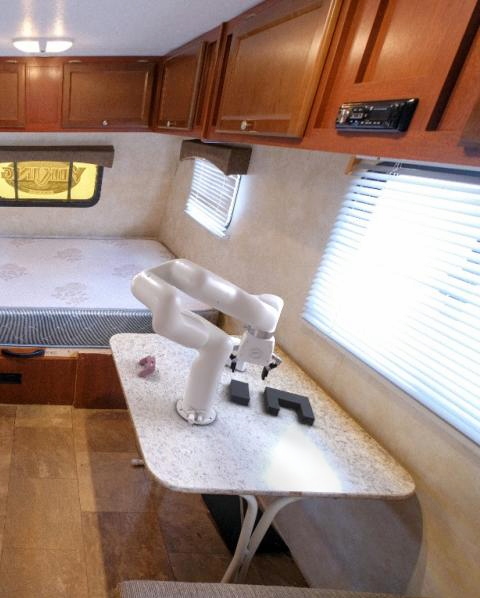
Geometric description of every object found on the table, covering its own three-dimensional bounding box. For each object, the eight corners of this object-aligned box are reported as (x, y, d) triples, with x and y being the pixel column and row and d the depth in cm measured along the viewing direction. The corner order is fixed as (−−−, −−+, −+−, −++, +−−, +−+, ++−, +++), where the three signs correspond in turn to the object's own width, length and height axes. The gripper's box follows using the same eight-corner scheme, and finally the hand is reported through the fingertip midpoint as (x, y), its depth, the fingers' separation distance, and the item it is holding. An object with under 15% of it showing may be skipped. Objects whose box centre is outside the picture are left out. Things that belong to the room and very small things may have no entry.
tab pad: (247, 406, 126) (249, 399, 125) (229, 401, 128) (231, 394, 127) (246, 389, 135) (248, 383, 134) (229, 385, 137) (231, 378, 136)
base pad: (312, 425, 120) (315, 418, 118) (266, 413, 124) (268, 406, 123) (305, 403, 130) (308, 397, 129) (263, 392, 134) (265, 386, 133)
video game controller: (147, 381, 138) (158, 369, 135) (137, 375, 137) (148, 363, 134) (147, 367, 147) (157, 355, 144) (138, 361, 146) (148, 349, 143)
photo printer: (246, 368, 148) (254, 343, 143) (242, 373, 145) (250, 346, 140) (221, 358, 154) (229, 332, 149) (217, 361, 151) (224, 336, 146)
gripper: (232, 330, 117) (220, 373, 124) (291, 342, 112) (276, 387, 119) (232, 320, 123) (221, 362, 130) (288, 331, 118) (273, 374, 125)
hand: (247, 374), depth 124 cm, fingers open, 9 cm apart
